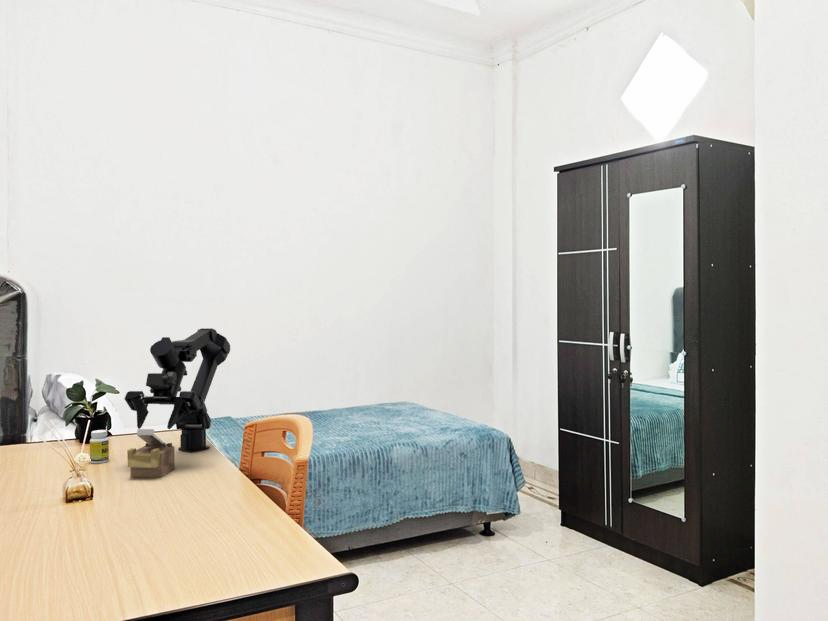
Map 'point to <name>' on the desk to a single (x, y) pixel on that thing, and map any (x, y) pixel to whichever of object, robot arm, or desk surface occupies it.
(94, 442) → the supplement bottle
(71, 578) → the desk surface
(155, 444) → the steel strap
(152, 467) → the walnut box
